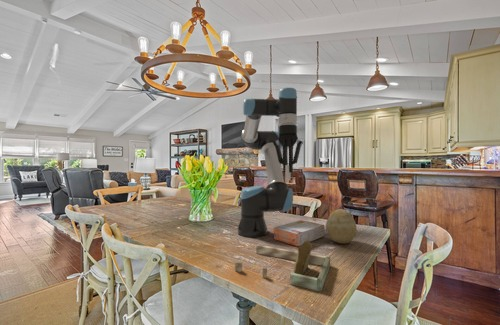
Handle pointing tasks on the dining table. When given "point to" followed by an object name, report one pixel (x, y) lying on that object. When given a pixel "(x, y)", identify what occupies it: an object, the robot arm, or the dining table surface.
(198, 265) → the dining table surface
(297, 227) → the cracker box
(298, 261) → the rock
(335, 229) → the fossilized egg
